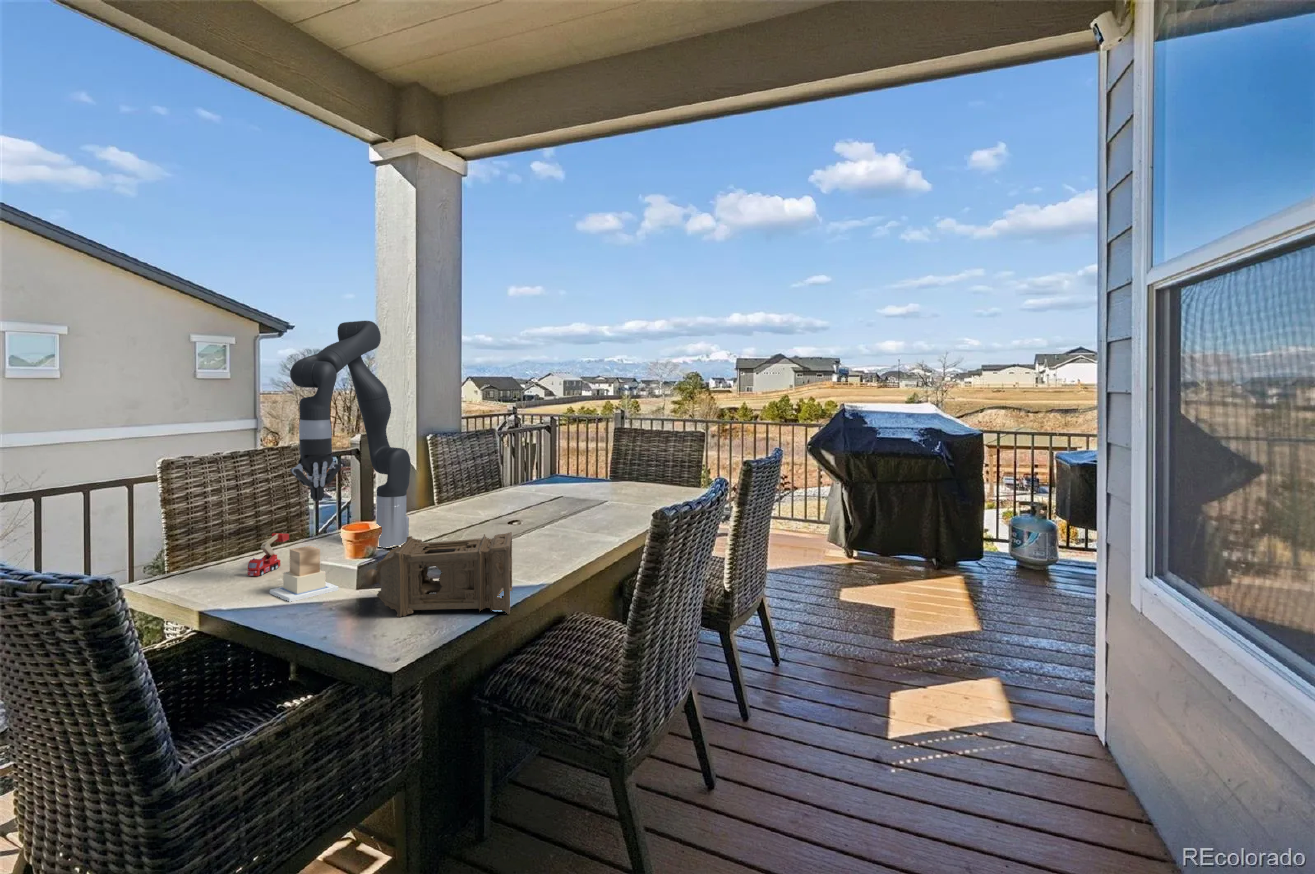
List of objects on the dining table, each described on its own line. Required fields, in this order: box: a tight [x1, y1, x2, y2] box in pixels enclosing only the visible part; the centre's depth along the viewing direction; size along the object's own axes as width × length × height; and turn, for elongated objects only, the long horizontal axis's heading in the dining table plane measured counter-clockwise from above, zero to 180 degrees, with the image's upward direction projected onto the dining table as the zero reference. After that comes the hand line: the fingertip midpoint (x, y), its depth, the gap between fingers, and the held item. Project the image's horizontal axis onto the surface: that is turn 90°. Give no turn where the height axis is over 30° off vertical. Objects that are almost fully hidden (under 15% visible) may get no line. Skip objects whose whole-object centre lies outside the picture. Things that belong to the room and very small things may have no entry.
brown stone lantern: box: [360, 531, 513, 618], centre depth 148 cm, size 35×18×18 cm, turn 101°
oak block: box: [289, 545, 321, 576], centre depth 154 cm, size 5×5×6 cm
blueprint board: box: [269, 569, 339, 603], centre depth 155 cm, size 12×10×5 cm
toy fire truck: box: [247, 532, 290, 577], centre depth 171 cm, size 3×14×10 cm, turn 179°
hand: (317, 500), depth 162 cm, fingers closed
